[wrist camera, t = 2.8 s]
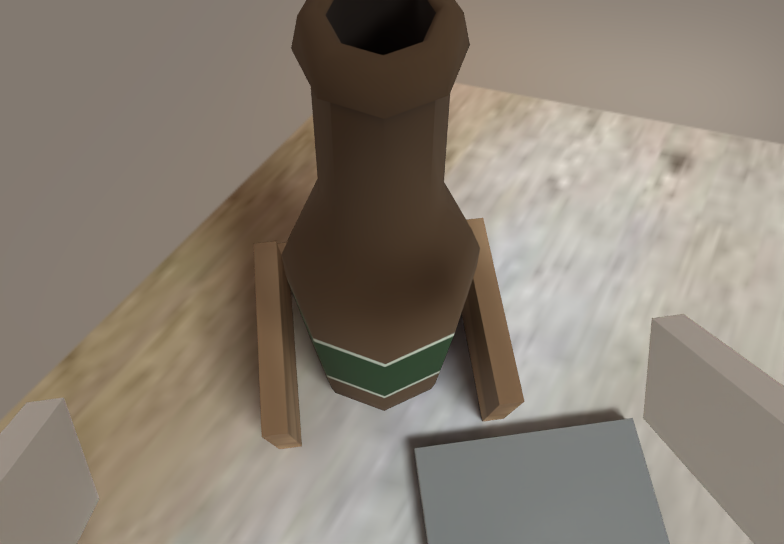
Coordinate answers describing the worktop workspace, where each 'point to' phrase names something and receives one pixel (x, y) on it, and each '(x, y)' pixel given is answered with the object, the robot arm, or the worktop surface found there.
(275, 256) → the cradle
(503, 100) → the worktop surface
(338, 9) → the beer bottle
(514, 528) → the coaster
